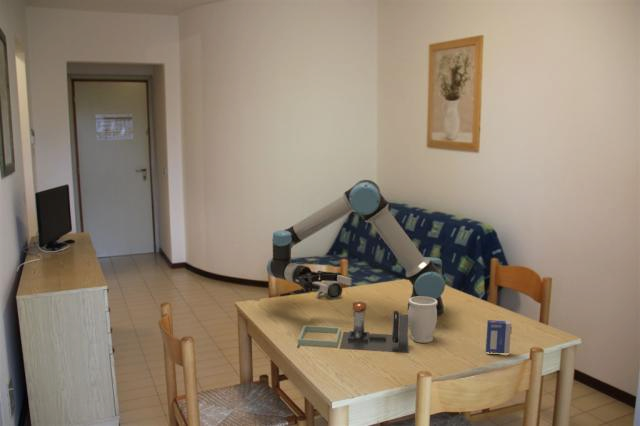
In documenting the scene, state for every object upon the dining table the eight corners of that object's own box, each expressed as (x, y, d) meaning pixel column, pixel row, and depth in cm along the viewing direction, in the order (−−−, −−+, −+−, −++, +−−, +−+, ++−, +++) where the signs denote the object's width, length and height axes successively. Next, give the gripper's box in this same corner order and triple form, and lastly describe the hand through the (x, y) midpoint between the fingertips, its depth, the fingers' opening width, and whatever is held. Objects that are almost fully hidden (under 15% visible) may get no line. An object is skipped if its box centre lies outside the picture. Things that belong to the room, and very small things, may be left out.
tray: (340, 335, 218) (340, 327, 217) (336, 349, 204) (337, 341, 203) (303, 332, 219) (303, 325, 219) (297, 347, 206) (297, 339, 205)
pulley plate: (407, 338, 215) (409, 303, 213) (408, 355, 200) (410, 318, 198) (343, 334, 219) (344, 299, 216) (339, 351, 203) (340, 314, 201)
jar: (418, 346, 208) (420, 306, 205) (401, 336, 217) (402, 298, 214) (441, 341, 213) (443, 302, 210) (424, 332, 222) (426, 294, 219)
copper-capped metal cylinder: (365, 335, 215) (366, 302, 213) (364, 340, 210) (365, 306, 208) (352, 334, 215) (353, 301, 213) (351, 339, 211) (352, 305, 208)
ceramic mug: (336, 293, 268) (336, 277, 267) (342, 298, 261) (342, 282, 260) (314, 295, 265) (314, 279, 263) (320, 301, 257) (320, 284, 256)
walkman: (486, 354, 202) (488, 321, 200) (485, 351, 204) (487, 318, 202) (510, 356, 200) (512, 323, 198) (508, 353, 203) (511, 320, 201)
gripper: (319, 277, 240) (359, 288, 226) (275, 289, 222) (316, 302, 208) (319, 259, 239) (360, 269, 225) (275, 270, 221) (316, 282, 206)
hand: (339, 285), depth 216 cm, fingers open, 13 cm apart
